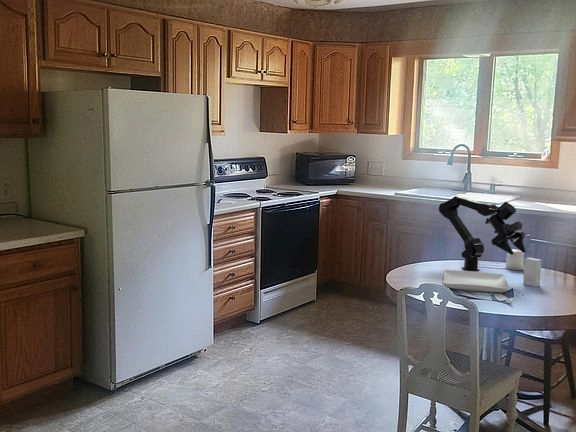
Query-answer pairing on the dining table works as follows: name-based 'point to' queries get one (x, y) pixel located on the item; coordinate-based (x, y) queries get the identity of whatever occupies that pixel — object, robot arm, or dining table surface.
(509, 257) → the pale grey cylinder
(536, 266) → the skincare box
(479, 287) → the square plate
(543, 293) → the dining table surface
